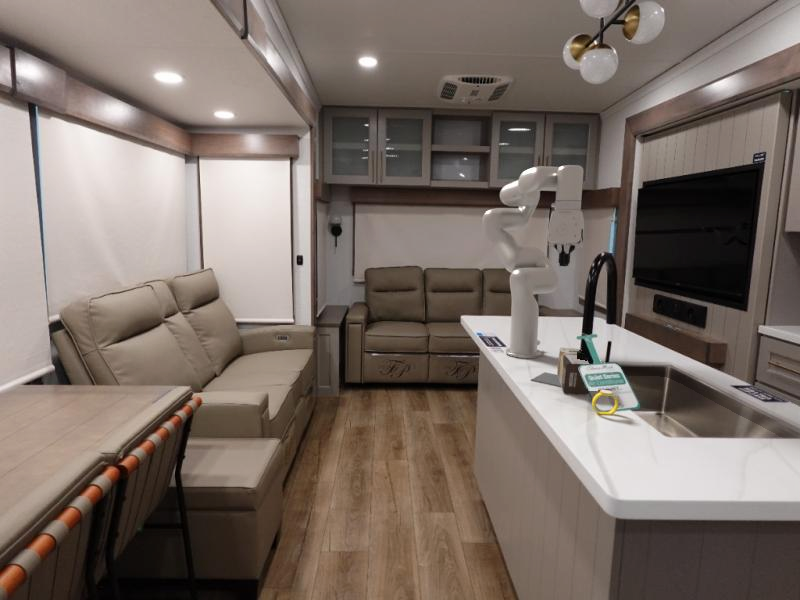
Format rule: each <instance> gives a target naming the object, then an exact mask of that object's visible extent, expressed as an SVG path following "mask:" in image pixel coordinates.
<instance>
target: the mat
mask: <svg viewBox="0 0 800 600" xmlns="http://www.w3.org/2000/svg"><path fill="white" fill-rule="evenodd" d="M530 381H532V382H536V383H542V384H545V385H548V386H549V385H550V386H554V387H555V386H556V387H559V388H562V387H561V384H560V381H559V379H558V376H557V373H556V374H555V373H550V372H542V373H541V374H539V375H537V376H535V377H532V378H531V379H530Z"/></svg>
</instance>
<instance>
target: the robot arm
mask: <svg viewBox="0 0 800 600" xmlns="http://www.w3.org/2000/svg"><path fill="white" fill-rule="evenodd" d="M583 181H584V168H583V167H582V166H581V165H578V164H574V165H573V164H568V165H567V164H566V165H561V166H546V165H545V166H544V165H543V166H542V165H539V166H533V167H531V168H528V169H526V170H523V172H522V173H520V175H519V177H518V179H517V180H515V181H511V182H510V183H508V184H505V185H504V186H503V187H502V188H501V190H500V192H499V200H500V202H501V203H503V205H506V206H507V207H496V208H491V209H488V210H487V211H485V213H483V216H482V220H481V223H482V224H481V225H482V231H483V235H484V236H485V238H486V240H487V242H489V244H490V246H492V248H493V249H494V251H495V253H496V254H497V257H498V258H499V259H500V261H501V263H502V265H503V266H504V268H505V270H506V271H508V272H509V273H510V275H509V288H510V294H511V308H510V310H511V313H510V316H511V317H510V340H509V342H510V343H509V347H508V348H506V349H505V354H506V355H507V354H508V355H507V356H509V355H510V356H509V357H512V356H513V358H517V357H518V358H519V359H537V358H540V357H541V356H542V351H541V350H539V349H538V346H539V345H540V344H541V341H540V340H539V339H538V337H539V335H538V333H539V315H540V314H539V312H540V309H539V304H538V301H537V299H536V298H535V296H534V295H541V294H551V293H553V292H555V291H556V290H557V289H558V288H559V285H560V280H559V279H560V278H559V276H558V273H557V270H556V269H555V267H554V266H553V264H552V262H551V261H550V260H549V258H548V256H547V254H546V253H545V252H544V250H542V249H540V248H539V247H536V246H535V247H534V246H533V247H531V246H530V247H528V246H527V247H526V246H521V245H520V244H519V243H518V241H517V240H516V238H515V237H514V236H513V234H511V233H509V232H507V231H522V230H524V229H525V228H526V227H527V226H528V224H529V223H530V221H531V218H532V216H533V214H534V212H535V210H536V209H537V206H538V204H539V201H540V198H541V191H544V192H545V191H547V192H549V191H550V192H555V200H554V202H552V203H551V206H550V207H551V208H554V210H552V211H551V215H550V219H549V222H548V223H549V224H548V229H547V241H548V243H547V244H548V246H549V247H552V248H554V249H555V250H556V251H557V253H558V264H559V267H569V264H570V261H571V254H572V253H573V251H575V250H576V249H580V248H583V247H584V245H583V242H584V237H585V224H584V223H585V221H584V213H583V211H582V210H581V209H582V196H583V195H582V194H583ZM508 207H509V208H508ZM513 207H514V208H513ZM515 207H518V208H515ZM565 245H566V246H565Z"/></svg>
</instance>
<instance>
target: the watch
mask: <svg viewBox="0 0 800 600" xmlns="http://www.w3.org/2000/svg"><path fill="white" fill-rule="evenodd" d="M601 396H605V397H611V396H612V398H613V399H614V406H613V408H612V409H611V410H609V411H598V410H597V408H596V402H597V400H598V399H599V398H600V397H601ZM618 400H619V399H618V398H617V397H616V395H614V393H613V391H611V390H608V389H600V390H599V392H598V393H596V394H595V395H594V397H592V401H591V406H592V409H593V410H594V411H595V413H597V414H598V415H601V416H602V415H603V416H604V415H605V416H612V415H613V414H614V413H616V411H618V410H617V409H618V408H619V401H618Z"/></svg>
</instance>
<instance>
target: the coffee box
mask: <svg viewBox="0 0 800 600" xmlns="http://www.w3.org/2000/svg"><path fill="white" fill-rule="evenodd" d="M580 349H581V348H574V347H573V348H572V347H559V352H558V363H557V371H556V375H557V376H558V379H559V381H560V384H561V387H560V388H561V390H562V392H563V394H568V395H576V396H577V395H578V396H579V395H583V396H587V395H588V390H587V391H586V389H585V386H584V384H583V382H582V379H581V376H580V373H579V371H578V367H579V366H580V365H585V364H590V363H589V361H588V360H587V361H585V360H580V359H577V351H579V350H580Z"/></svg>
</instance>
